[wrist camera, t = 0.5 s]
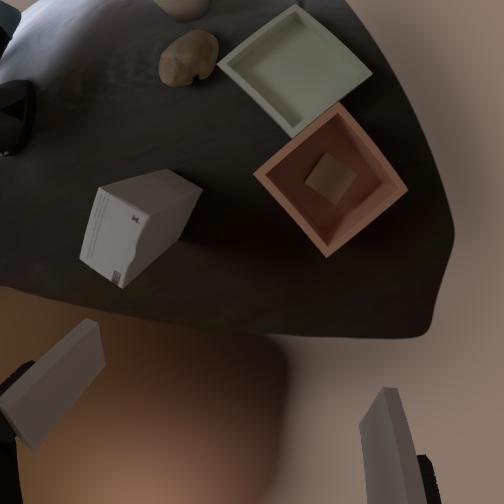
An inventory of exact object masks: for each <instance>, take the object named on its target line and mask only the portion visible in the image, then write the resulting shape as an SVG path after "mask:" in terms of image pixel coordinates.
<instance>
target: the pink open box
mask: <svg viewBox="0 0 504 504" xmlns="http://www.w3.org/2000/svg"><path fill="white" fill-rule="evenodd" d="M323 152H327V153H328V154H330V155H331V156H333V157H334V158H336V159H337V160H338V161H340V162H341V163H342V164H344V165H345V166H347V167H348V168H349V169H351V170H352V171H353V172H355V173H356V174H357V176H356V177H355V179H354V180H353V182H352V183H351V184H350V186H349V187H348V189H347V190H346V192H345V193H344V194H343V196H342V197H341V199H340V200H339V202H338V203H337V204H336V205H335V204H334V203H332V202H331V201H330V200H328V199H327V198H325V197H324V196H323V195H321V194H320V193H318V192H317V191H315V190H314V189H313V188H311V187H310V186H308V185H307V184H305V183H304V179H305V177H306V176H307V174H308V173H309V171H310V170H311V168H312V167H313V166H314V164H315V163H316V161H317V160H318V158H319V157H320V155H321V154H322V153H323ZM253 175H254V176H255V177H256V178H257V179H258V180H259V181H260V182H261V183H262V184H263V185H264V187H265V188H266V189H267V190H268V191H269V192H270V193H271V194H272V195H273V196H274V198H275V199H276V200H277V201H278V202H279V203H280V204H281V205H282V207H283V208H284V209H285V210H286V211H287V212H288V213H289V215H290V216H291V217H292V218H293V219H294V220H295V221H296V223H297V224H298V225H299V226H300V227H301V228H302V229H303V231H304V232H305V233H306V234H307V235H308V236H309V238H310V239H311V240H312V241H313V242H314V244H315V245H316V246H317V247H318V248H319V249H320V251H321V252H322V253H323V254H324V255H325V257H326V258H327V257H328V256H329V255H331V254H332V253H333V252H334V251H336V250H337V249H338V248H339V247H341V246H342V245H343V244H344V243H346V242H347V241H348V240H349V239H351V238H352V237H353V236H354V235H356V234H357V233H358V232H359V231H361V230H362V229H363V228H364V227H365V226H367V225H368V224H369V223H370V222H372V221H373V220H374V219H375V218H376V217H378V216H379V215H380V214H381V213H382V212H383V211H385V210H386V209H387V208H388V207H389V206H391V205H392V204H393V203H394V202H395V201H396V200H398V199H399V198H400V197H401V196H402V195H403V194H405V193H406V192H407V191H408V189H407V187H406V186H405V184H404V183H403V182H402V180H401V179H400V177H399V176H398V174H397V173H396V172H395V170H394V169H393V167H392V166H391V165H390V163H389V162H388V161H387V159H386V158H385V157H384V155H383V154H382V153H381V151H380V150H379V149H378V147H377V146H376V145H375V144H374V142H373V141H372V140H371V139H370V137H369V136H368V135H367V134H366V132H365V131H364V130H363V129H362V128H361V126H360V125H359V124H358V123H357V122H356V121H355V119H354V118H353V117H352V116H351V115H350V114H349V112H348V111H347V110H346V109H345V108H344V107H343V106H342V105H341V104H340V103H339V101H338V102H337V103H336V104H335V105H333V106H332V107H331V108H330V109H328V110H327V111H326V112H325V113H323V114H322V115H321V116H320V117H319V118H317V119H316V120H315V121H314V122H313V123H311V124H310V125H309V126H308V127H307V128H305V129H304V130H303V131H302V132H301V133H299V134H298V135H297V136H296V137H295V138H294V139H292V140H291V141H290V142H289V143H288V144H287V145H285V146H284V147H283V148H282V149H281V150H280V151H278V152H277V153H276V154H275V155H274V156H273V157H272V158H271V159H269V160H268V161H267V162H266V163H265V164H264V165H263V166H262V167H260V168H259V169H258V170H257V171H256V172H255V173H254V174H253Z"/></svg>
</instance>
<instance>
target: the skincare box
mask: <svg viewBox="0 0 504 504" xmlns="http://www.w3.org/2000/svg"><path fill="white" fill-rule="evenodd" d="M202 191H203V189H202V188H200V187H198V186H196V185H195V184H193V183H191V182H190V181H188V180H186V179H184V178H183V177H181V176H179V175H177V174H176V173H174V172H172V171H170V170H169V169H164V170H160V171H156V172H152V173H148V174H144V175H140V176H137V177H133V178H130V179H126V180H123V181H119V182H116V183H113V184H109V185H106V186H103V187H99V189H98V192H97V195H96V198H95V201H94V205H93V208H92V211H91V215H90V219H89V222H88V226H87V229H86V233H85V237H84V241H83V246H82V250H81V254H80V259H81V260H82V261H83V262H84V263H86V264H87V265H89V266H90V267H91V268H93V269H94V270H96V271H97V272H98V273H100V274H101V275H103V276H104V277H106V278H107V279H109V280H110V281H112V282H113V283H115V284H116V285H118V286H119V287H120V288H122V289H123V288H124V287H125V286H126V285H128V284H129V283H130V282H131V281H132V280H133V279H134V278H135V277H136V276H137V275H138V274H139V273H141V272H142V271H143V270H144V269H145V268H146V267H147V266H148V265H149V264H150V263H152V262H153V261H154V260H155V259H156V258H157V257H158V256H160V255H161V254H162V253H163V252H164V251H165V250H166V249H167V248H169V247H170V246H171V245H172V244H173V243H174V242H176V241H177V240H178V239H179V237H180V235H181V233H182V231H183V229H184V227H185V225H186V223H187V221H188V219H189V217H190V215H191V213H192V211H193V209H194V207H195V205H196V202H197V200H198V198H199V196H200V194H201V193H202Z"/></svg>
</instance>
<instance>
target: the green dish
mask: <svg viewBox="0 0 504 504" xmlns="http://www.w3.org/2000/svg"><path fill="white" fill-rule="evenodd" d="M217 65H218V66H219V68H220V69H221V70H222V71H223V72H224V73H225V74H226V75H227V76H229V77H230V78H231V79H232V80H233V81H234V82H235V83H236V84H237V85H238V86H239V87H241V88H242V89H243V90H244V91H245V92H246V93H247V94H248V95H249V96H250V97H251V98H252V99H253V100H254V101H255V102H256V103H257V104H258V105H259V106H260V107H261V108H262V109H263V110H264V111H265V112H266V113H267V114H268V115H269V116H270V117H271V118H272V119H273V120H274V121H275V122H276V123H277V124H278V125H279V126H280V127H281V128H282V129H283V130H284V131H285V132H286V133H287V135H288V136H289V137H290V138H291V139H294V138H295V137H296V136H297V135H298V134H299V133H301V132H302V131H303V130H304V129H305V128H307V127H308V126H309V125H310V124H311V123H313V122H314V121H315V120H316V119H317V118H319V117H320V116H321V115H322V114H323V113H325V112H326V111H327V110H328V109H330V108H331V107H332V106H333V105H335V104H336V103H337V102H338V101H341V100H342V99H343V98H344V97H346V96H347V95H348V94H349V93H351V92H352V91H353V90H355V89H356V88H357V87H358V86H360V85H361V84H362V83H364V82H365V81H366V80H367V79H368V78H369V77H370V76H371V75H372V74H373V73H372V72H371V71H370V70H369V69H368V68H367V67H366V66H365V65H364V64H363V63H362V62H361V61H360V60H359V59H358V58H357V57H356V56H355V55H354V54H353V53H352V52H351V51H350V50H349V49H348V48H347V47H346V46H345V45H344V44H343V43H342V42H341V41H340V40H339V39H337V38H336V37H335V36H334V35H333V34H332V33H331V32H330V31H328V30H327V29H326V28H325V27H324V26H323V25H321V24H320V23H319V22H318V21H317V20H315V19H314V18H313V17H312V16H311V15H309V14H308V13H307V12H305V11H304V10H303V9H302V8H300V7H299V6H298V5H296V4H295V5H293V6H291V7H290V8H288V9H287V10H285V11H284V12H283V13H281V14H280V15H278V16H277V17H275V18H274V19H273V20H271V21H270V22H268V23H267V24H266V25H264V26H263V27H262V28H260V29H259V30H258V31H256V32H255V33H254V34H252V35H251V36H250V37H249V38H247V39H246V40H245V41H243V42H242V43H241V44H240V45H239V46H237V47H236V48H235V49H234V50H233V51H231V52H230V53H229V54H228V55H227V56H225V57H224V58H223V59H222V60H221V61H220V62H219V63H217Z"/></svg>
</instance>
